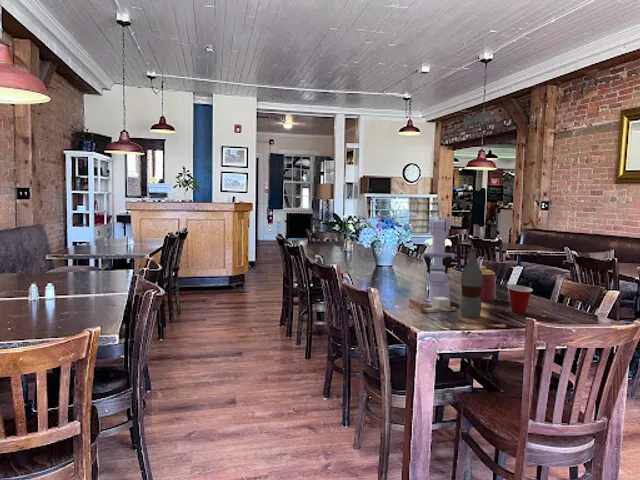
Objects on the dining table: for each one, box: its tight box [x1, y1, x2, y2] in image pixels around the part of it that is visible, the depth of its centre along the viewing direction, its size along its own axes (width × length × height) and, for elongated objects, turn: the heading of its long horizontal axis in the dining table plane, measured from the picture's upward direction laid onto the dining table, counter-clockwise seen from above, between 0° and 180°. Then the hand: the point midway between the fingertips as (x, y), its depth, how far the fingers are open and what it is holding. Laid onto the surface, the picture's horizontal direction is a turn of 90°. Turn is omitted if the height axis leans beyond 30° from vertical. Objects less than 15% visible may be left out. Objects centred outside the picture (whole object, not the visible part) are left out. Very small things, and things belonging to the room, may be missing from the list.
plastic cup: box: [507, 284, 534, 315], centre depth 216 cm, size 11×11×12 cm
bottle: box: [459, 248, 483, 319], centre depth 208 cm, size 9×9×30 cm
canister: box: [480, 265, 497, 302], centre depth 245 cm, size 13×13×18 cm
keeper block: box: [431, 297, 451, 308], centre depth 223 cm, size 6×6×5 cm
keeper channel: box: [408, 298, 456, 314], centre depth 222 cm, size 18×11×4 cm, turn 107°
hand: (437, 273), depth 215 cm, fingers open, 7 cm apart
